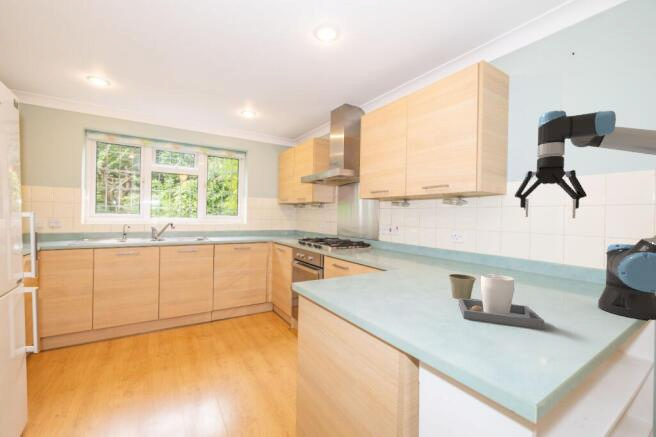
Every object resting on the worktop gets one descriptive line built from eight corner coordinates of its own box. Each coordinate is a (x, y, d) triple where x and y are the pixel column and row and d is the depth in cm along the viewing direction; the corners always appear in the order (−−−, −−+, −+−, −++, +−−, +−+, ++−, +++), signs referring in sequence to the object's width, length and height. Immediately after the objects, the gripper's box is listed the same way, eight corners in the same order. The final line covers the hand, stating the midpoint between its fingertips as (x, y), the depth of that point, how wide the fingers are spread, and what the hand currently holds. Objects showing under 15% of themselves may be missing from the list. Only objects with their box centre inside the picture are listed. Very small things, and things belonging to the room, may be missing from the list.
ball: (482, 316, 86) (482, 304, 86) (484, 320, 83) (484, 308, 83) (469, 314, 88) (470, 303, 88) (471, 318, 84) (471, 306, 84)
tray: (526, 315, 90) (526, 305, 90) (543, 331, 77) (544, 320, 77) (458, 306, 97) (458, 297, 97) (463, 320, 84) (463, 310, 84)
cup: (503, 311, 92) (505, 274, 92) (519, 321, 83) (521, 281, 83) (474, 309, 93) (476, 273, 92) (487, 319, 84) (488, 279, 84)
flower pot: (480, 303, 102) (481, 279, 101) (454, 302, 102) (455, 278, 102) (467, 296, 111) (468, 274, 111) (443, 295, 111) (444, 273, 111)
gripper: (588, 158, 98) (586, 218, 98) (506, 160, 106) (504, 216, 107) (601, 153, 91) (598, 218, 91) (512, 156, 99) (510, 216, 99)
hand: (548, 217), depth 99 cm, fingers open, 13 cm apart
